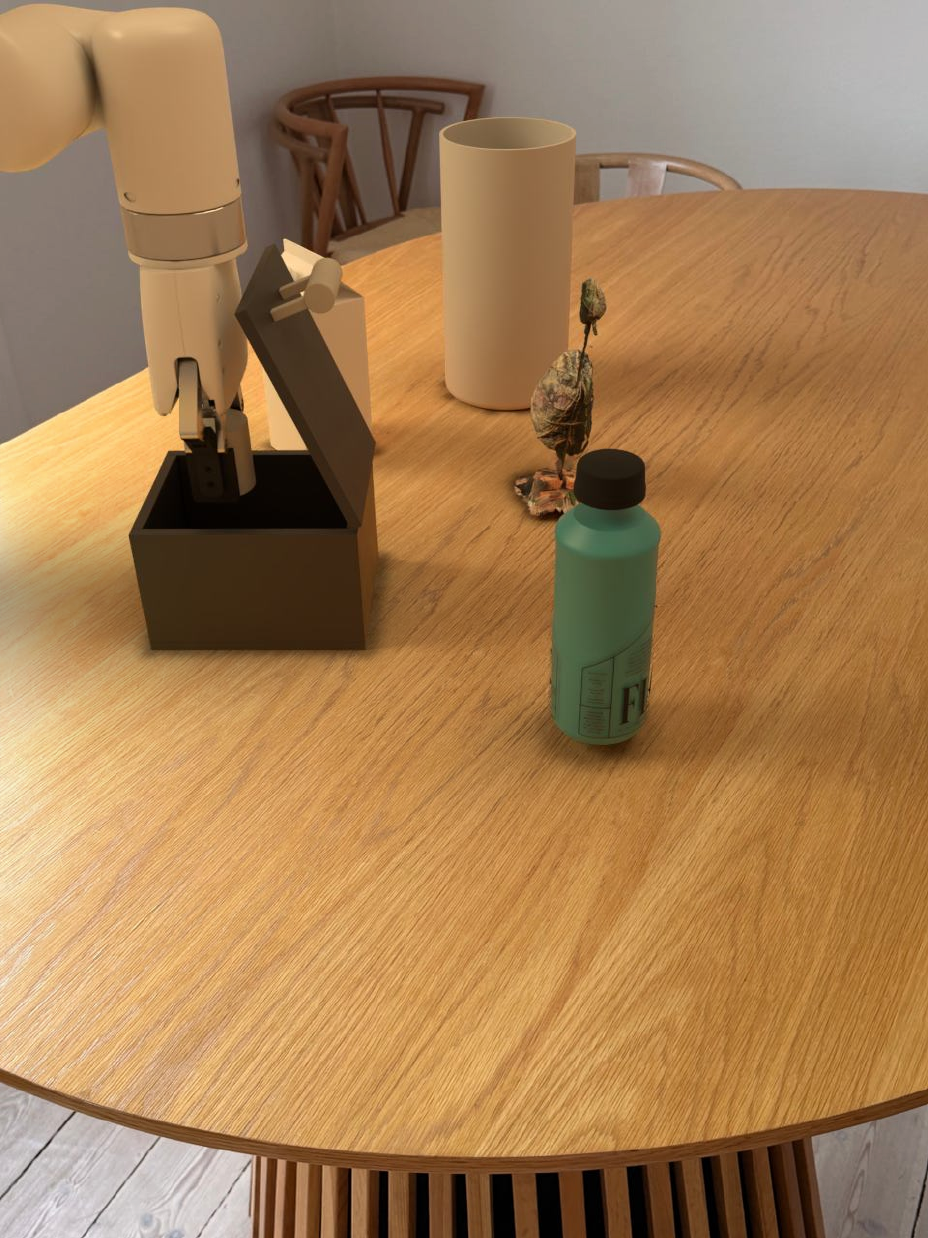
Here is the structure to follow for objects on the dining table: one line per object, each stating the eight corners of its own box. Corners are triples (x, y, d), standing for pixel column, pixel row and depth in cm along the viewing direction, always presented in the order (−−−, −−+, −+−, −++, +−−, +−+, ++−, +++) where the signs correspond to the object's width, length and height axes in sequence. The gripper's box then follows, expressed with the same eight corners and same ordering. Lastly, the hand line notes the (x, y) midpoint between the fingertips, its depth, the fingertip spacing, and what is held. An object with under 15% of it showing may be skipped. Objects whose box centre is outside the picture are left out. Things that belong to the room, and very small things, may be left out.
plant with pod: (610, 466, 111) (624, 247, 99) (600, 528, 102) (613, 295, 90) (522, 459, 112) (525, 243, 100) (504, 521, 103) (505, 290, 91)
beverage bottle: (623, 777, 76) (646, 498, 65) (528, 745, 79) (534, 471, 68) (661, 719, 81) (689, 449, 70) (571, 690, 84) (583, 425, 72)
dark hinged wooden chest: (151, 651, 88) (128, 534, 82) (186, 559, 98) (168, 450, 93) (365, 651, 88) (357, 534, 82) (378, 558, 98) (371, 449, 92)
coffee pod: (181, 486, 87) (170, 423, 84) (229, 464, 90) (220, 402, 87) (220, 506, 85) (210, 441, 82) (268, 482, 87) (260, 419, 85)
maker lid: (233, 313, 73) (310, 281, 72) (264, 247, 84) (332, 218, 83) (351, 530, 82) (421, 505, 81) (366, 445, 92) (429, 422, 91)
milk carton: (334, 426, 118) (319, 230, 107) (374, 453, 113) (362, 250, 103) (270, 446, 115) (247, 246, 104) (308, 475, 110) (288, 268, 99)
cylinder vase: (458, 418, 119) (453, 153, 105) (435, 369, 129) (428, 121, 115) (581, 406, 121) (592, 144, 107) (549, 358, 131) (556, 113, 117)
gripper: (156, 191, 84) (195, 431, 94) (90, 273, 70) (145, 544, 80) (264, 189, 84) (291, 430, 94) (220, 271, 70) (257, 543, 80)
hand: (223, 480), depth 87 cm, fingers closed on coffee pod, 4 cm apart
